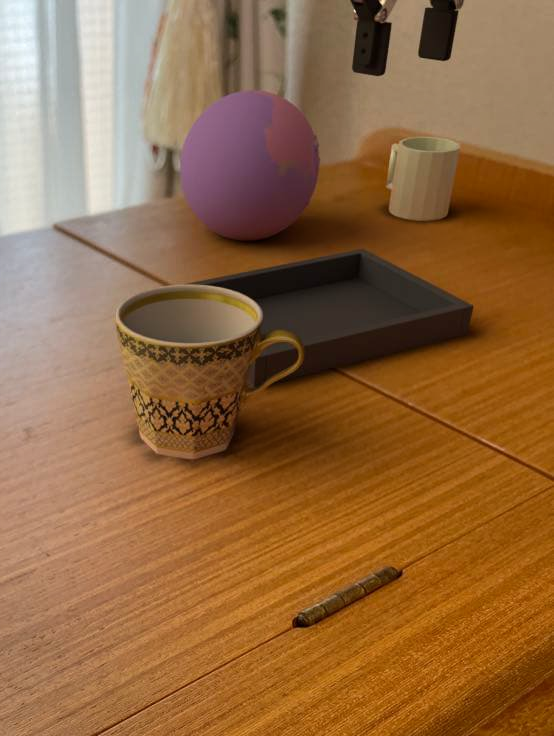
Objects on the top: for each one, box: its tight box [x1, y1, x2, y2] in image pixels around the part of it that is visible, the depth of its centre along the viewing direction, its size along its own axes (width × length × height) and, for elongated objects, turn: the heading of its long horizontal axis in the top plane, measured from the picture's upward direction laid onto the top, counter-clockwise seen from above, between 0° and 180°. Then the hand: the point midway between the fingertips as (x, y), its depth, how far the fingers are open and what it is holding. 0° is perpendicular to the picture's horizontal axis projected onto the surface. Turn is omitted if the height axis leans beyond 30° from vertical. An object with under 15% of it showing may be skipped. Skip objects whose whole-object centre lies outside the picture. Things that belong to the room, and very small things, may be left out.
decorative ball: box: [179, 89, 321, 242], centre depth 94 cm, size 15×15×15 cm
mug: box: [385, 136, 462, 222], centre depth 103 cm, size 10×7×8 cm
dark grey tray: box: [181, 248, 475, 388], centre depth 79 cm, size 22×16×3 cm
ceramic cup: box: [114, 283, 305, 460], centre depth 61 cm, size 13×10×10 cm
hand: (401, 66), depth 78 cm, fingers open, 9 cm apart
